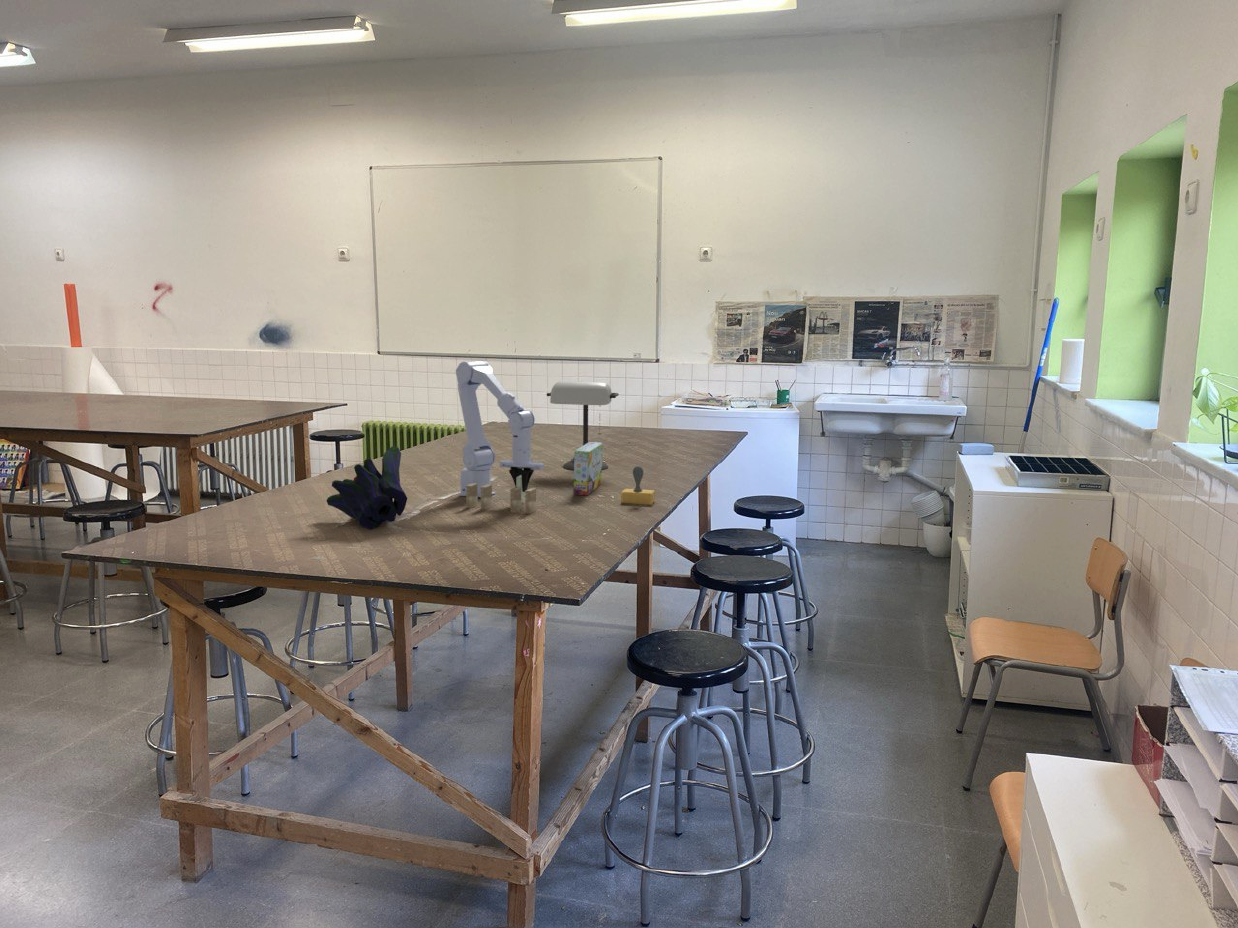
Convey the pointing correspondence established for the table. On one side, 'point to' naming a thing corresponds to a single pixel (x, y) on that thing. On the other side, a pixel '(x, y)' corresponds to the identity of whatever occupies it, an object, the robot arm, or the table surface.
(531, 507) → the domino
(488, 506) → the domino
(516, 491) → the domino
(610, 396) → the lamp
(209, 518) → the table surface
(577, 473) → the snack box
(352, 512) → the dark blue lobed piece
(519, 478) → the domino
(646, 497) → the rubber stamp
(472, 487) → the domino
